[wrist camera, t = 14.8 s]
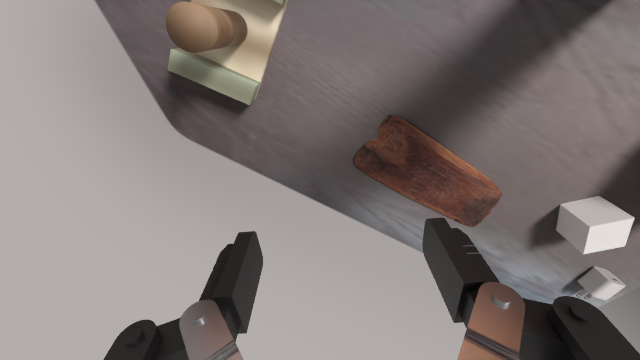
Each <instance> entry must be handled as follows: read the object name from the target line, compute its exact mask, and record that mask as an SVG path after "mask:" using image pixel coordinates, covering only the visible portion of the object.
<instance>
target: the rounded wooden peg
mask: <svg viewBox="0 0 640 360" xmlns="http://www.w3.org/2000/svg"><path fill="white" fill-rule="evenodd" d="M166 27H167V31H168V34H169V36H170V38H171V39H172V41H173V42H174V43H175V44H176V45H177V46H178V47H179V48H181V49H182V50H184V51H186V52H189V53H199V52H204V51H209V50H214V49H220V48H225V47H230V46H235V45H239V44H241V43H243V42H244V40H245V39H246V37H247V32H248V29H247V24H246V22H245V20H244V18H243V17H242V16H241V15H240V14H239V13H237V12H235V11H230V10H225V9H220V8H215V7H210V6H205V5H200V4H195V3H190V2H178V3H176V4H174V5H173V6H171V8H170V9H169V11H168V13H167V16H166Z"/></svg>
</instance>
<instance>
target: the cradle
mask: <svg viewBox="0 0 640 360" xmlns="http://www.w3.org/2000/svg"><path fill="white" fill-rule="evenodd" d="M287 2H288V0H191V2H190V3H195V4H200V5H205V6H210V7H215V8H220V9H225V10H230V11H235V12H237V13H239V14H240V15H241V16H242V17H243V18H244V20H245V22H246V24H247V29H248V32H247V37H246V39H245V40H244V42H243V43H241V44H239V45H235V46H230V47H225V48H220V49H214V50H209V51H204V52H199V53H189V52H186V51H184V50H182V49H181V48H176V49H171V51H170V58H169V64H168V70H169V71H171V72H173V73H176V74H178V75H180V76H183V77H185V78H187V79H190V80H192V81H194V82H197V83H199V84H201V85H204V86H206V87H208V88H211V89H213V90H215V91H218V92H220V93H222V94H225V95H227V96H229V97H232V98H234V99H236V100H239V101H241V102H243V103H246V104H248V105H250V104H251V103H252V102H253V101H254V100H255V99H256V97H257V94H258V91H259V88H260V85H261V82H262V79H263V76H264V72H265V69H266V66H267V63H268V60H269V57H270V54H271V51H272V48H273V45H274V42H275V39H276V36H277V33H278V30H279V26H280V23H281V20H282V17H283V14H284V11H285V8H286V5H287Z"/></svg>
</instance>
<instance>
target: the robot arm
mask: <svg viewBox="0 0 640 360" xmlns="http://www.w3.org/2000/svg"><path fill="white" fill-rule="evenodd" d="M423 253H424V256H425V259H426V261H427V263H428V265H429V268H430V270H431V272H432V274H433V277H434V279H435V281H436V283H437V286H438V288H439V290H440V292H441V295H442V297H443V299H444V302H445V303H446V306H447V308H448V311H449V313H450V315H451V317H452V320H453V322H454V323H459V322H464V324H465V326H466V328H467V330H466V333H465V337H464V340H463V343H462V346H461V349H460V353H459V356H458V359H457V360H640V354H639V353H638V352H637V351H636V350H635V348H634V347H633V346H632V345H631V344H630V343H629V342H628V341H627V340H626V339H625V337H624V336H623V335H622V334H621V333H620V332H619V331H618V330H617V328H615V326H614V325H613V324H612V323H611V322H610V321H609V320H608V318H607V317H606V316H605V315H604V314H603V313H602V312H601V311H600V310H598V309H597V308H596V307H594V306H593V305H591V304H590V303H588V302H586V301H584V300H581V299H578V298H575V297H570V296H562V297H558V298H556V299H555V300H554V302H553V304H547V303H542V302H537V301H533V300H528V299H524V298H522V297H521V296H520V295H519V294H518V293H517V292H516V291H515V290H514V289H512V288H511V287H509V286H507V285H504V284H502V283H500V282H499V280H498V279H497V277H496V276H495V275H494V273H493V272H492V270H491V269H490V267H489V266H488V264H487V263H486V261H485V260H484V259H483V257H482V256H481V254H479V251H478V250H477V248H476V247H475V246H474V244H473V243H472V241H471V240H470V238H469V237H468V235H466V234H465V233H463V232H462V231H461V230H459V229H458V228H451V227H450V226H449V224H448V223H447V221H446V220H445V218H432V219H426V221H425V227H424V236H423ZM262 266H263V256H262V252H261V248H260V245H259V241H258V238H257V234H256V232H255V231H252V232H240V233H238V235H237V237H236V240H235V242H234V244H228V245H227V246H226V247H225V248H224V249H223V250H222V251H221V252H220V254H219V257H218V259H217V261H216V264H215V266H214V268H213V271H212V273H211V275H210V277H209V279H208V282H207V284H206V286H205V289H204V291H203V293H202V295H201V298H200V300H199V302H196V303H194V304H193V305H191V306H190V307H189V308H188V309H187V310H186V311H185V312H184V313H183V315H182V316H181V318H179V319H176V320H174V321H171V322H168V323H165V324H162V325H159V326H156V325H155V323H154V322H153V321H151V320H141V321H138V322H135V323H133V324H132V325H130V326H128V327H127V328H126V329H125V330H124V331H123V332H121V333H120V334H119V336H118V337H117V338H116V340H115V341H114V343H113V345H112V347H111V348H110V350H109V351H108V353H107V355H106V356H105V358H104V360H243V358H242V356H241V354H240V352H239V350H238V347H237V345H236V343H235V342H236V338H237V334H239V333H247V329H248V325H249V320H250V317H251V312H252V308H253V304H254V300H255V296H256V292H257V288H258V284H259V279H260V275H261V271H262Z"/></svg>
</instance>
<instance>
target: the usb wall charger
mask: <svg viewBox="0 0 640 360" xmlns="http://www.w3.org/2000/svg"><path fill="white" fill-rule="evenodd" d="M577 281H578V283H579V284H580V285H581V286H582V287H583V288H584V289H583V290H581V291H580V292H579V293H578V294H579V295H580V297H581V296H583V295H584V294H586V293H587V292H588V294H587V295H586V296H585V297H584V298H585V299H586V297H588V299H590V298H591V297H592V296H593V297H596V298H599V299H603V300H607V299H609V298H610V297H611V296H613V295H614V294H616V293H617V292H618V291H620V290H621V289H622V288H624V287H625V284H623V283H622V282H621V281H620V280H619V279H618V278H616V277H615V276H614V275H613V274H612V273H611V272H609V271H608V270H605V269H602V268H598V267H595V266H594V267H593V268H592V269H591V270H589V271H588V272H587V273H586V274H584V275H583V276H582V277H581V278H580V279H578V280H577ZM578 294H577V295H576V296H577V297H578ZM580 297H578V298H580ZM588 299H586V300H588Z"/></svg>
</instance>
